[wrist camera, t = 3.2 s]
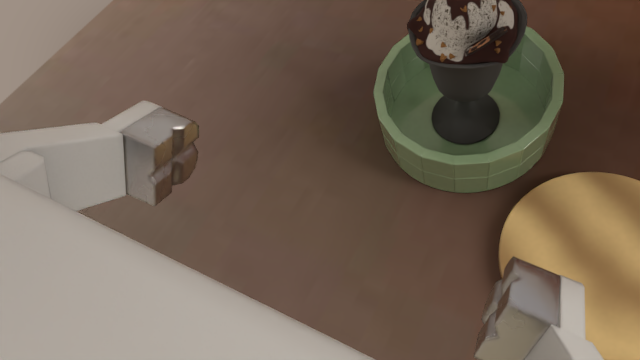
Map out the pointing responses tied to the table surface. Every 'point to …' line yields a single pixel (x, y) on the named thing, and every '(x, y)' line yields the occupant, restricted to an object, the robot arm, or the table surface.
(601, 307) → the trivet
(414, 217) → the table surface
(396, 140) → the green shallow round dish
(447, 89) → the sundae
